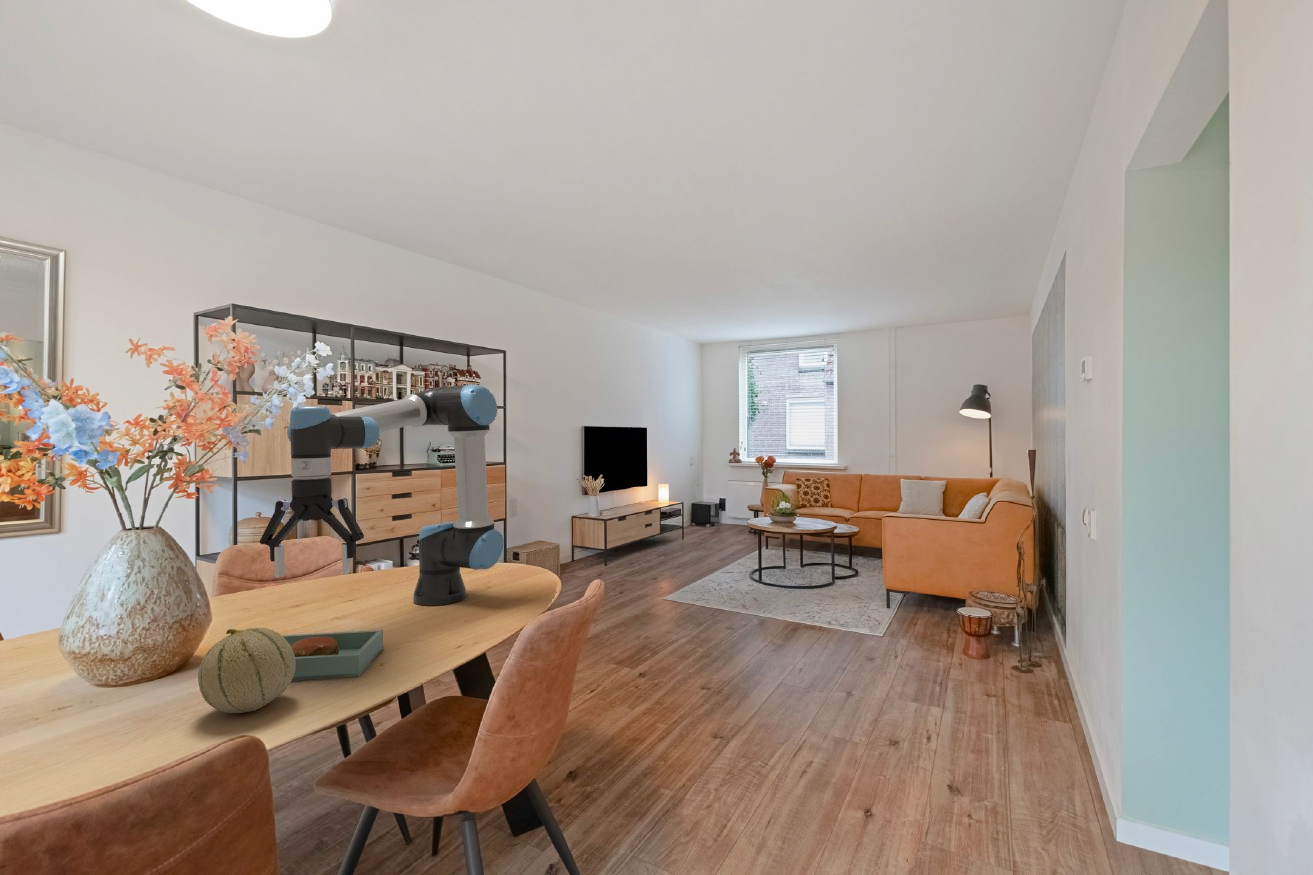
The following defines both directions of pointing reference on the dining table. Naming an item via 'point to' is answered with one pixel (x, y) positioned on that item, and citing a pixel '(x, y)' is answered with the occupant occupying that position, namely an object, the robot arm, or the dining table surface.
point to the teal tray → (339, 655)
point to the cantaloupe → (246, 670)
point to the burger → (315, 647)
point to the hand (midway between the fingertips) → (313, 574)
